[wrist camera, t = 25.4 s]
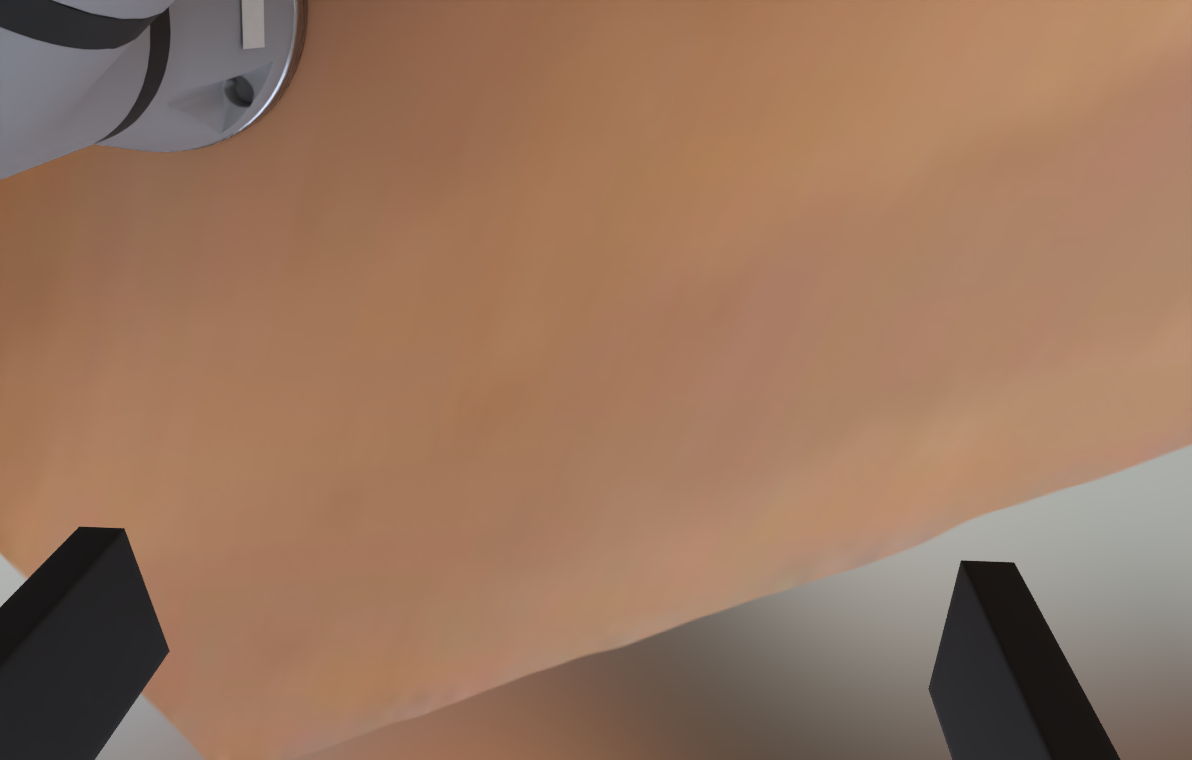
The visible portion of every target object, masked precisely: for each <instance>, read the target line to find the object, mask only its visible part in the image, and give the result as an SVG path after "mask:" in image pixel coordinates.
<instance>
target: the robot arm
mask: <svg viewBox="0 0 1192 760" xmlns="http://www.w3.org/2000/svg"><path fill="white" fill-rule="evenodd" d="M306 26H307V0H0V180H2V179H4V178H7V177H9V176H12V175H15V174H17V173H20V172H22V171H25V170H28V169H30V168H33V167H35V166H38V165H41V164H43V163H46V162H48V161H51V160H54V159H56V158H59V157H61V156H64V155H67V154H69V153H72V152H75V151H77V150H80V149H82V148H85V147H87V146H90V145H93V144H94V145H102V146H109V147H117V148H124V149H132V150H140V151H148V152H175V151H186V150H192V149H198V148H202V147H206V146H209V145H213V144H215V143H218V142H220V141H223V140H225V139H227V138H229V137H231V136H233V135H236V134H238V133H240V132H241V131H243V130H245V129H247V128H249V127H250V126H252V125H253V124H254V123H256V122H257V121H258V120H260V119H261V118H262V117H263V116H264V115H265V114H267V113H268V112H269V111H270V110H271V109H272V108H273V106H274V105H275V104H276V103H277V102H278V100H279V99H280V98H281V96H282V95H283V93H284V92H285V90H286V89H287V87H288V85H289V83H290V81H291V79H292V77H293V75H294V73H295V71H296V68H297V65H298V63H299V60H300V57H301V53H302V49H303V45H304V40H305V33H306ZM168 653H169V648H168V646H167V643H166V640H165V638H164V635H163V632H162V629H161V627H160V624H159V621H158V619H157V616H156V613H155V610H154V608H153V605H152V602H151V600H150V597H149V594H148V591H147V589H146V586H145V583H144V581H143V578H142V575H141V573H140V570H139V567H138V564H137V562H136V559H135V556H134V554H133V551H132V548H131V545H130V543H129V540H128V537H127V535H126V532H125V529H124V528H98V527H79V528H78V529H77V530H76V531H75V532H74V533H73V534H72V535H71V536H70V537H69V538H68V539H67V540H66V541H65V542H64V543H63V544H62V545H61V546H60V547H59V548H58V549H57V550H56V551H55V552H54V553H53V554H52V555H51V556H50V557H49V558H48V559H47V560H46V561H45V562H44V563H43V564H42V565H41V566H40V567H39V568H38V569H37V570H36V571H35V572H34V573H33V574H32V575H31V577H30V578H29V579H28V580H27V581H26V582H25V583H24V584H23V585H22V586H21V587H20V588H19V589H18V590H17V591H16V592H15V593H14V594H13V595H12V596H11V597H10V598H9V599H8V600H7V601H6V602H5V603H4V604H3V605H2V606H1V607H0V760H95V758H96V757H97V756H98V754H99V753H100V751H101V750H102V748H103V747H104V745H105V744H106V742H107V741H108V739H109V738H110V737H111V735H112V734H113V732H114V731H115V729H116V728H117V727H118V725H119V724H120V722H121V721H122V719H123V718H124V716H125V715H126V713H127V712H128V711H129V709H130V707H131V706H132V705H133V703H134V702H135V700H136V699H137V698H138V696H139V695H140V693H141V692H142V690H143V689H144V687H145V686H146V684H147V683H148V682H149V680H150V679H151V677H152V676H153V674H154V673H155V671H156V670H157V668H158V667H159V666H160V664H161V663H162V661H163V660H164V658H165V657H166V655H167V654H168ZM929 692H930V695H931V698H932V701H933V704H934V706H935V709H936V712H937V715H938V718H939V721H940V724H941V727H942V730H943V733H944V736H945V739H946V742H947V745H948V748H949V751H950V754H951V757H952V760H1120V758H1119V757H1118V755H1117V752H1116V750H1115V749H1114V747H1113V745H1112V744H1111V741H1110V739H1109V737H1108V736H1107V734H1106V732H1105V730H1104V728H1103V726H1102V724H1101V723H1100V721H1099V719H1098V717H1097V715H1096V713H1095V711H1094V710H1093V708H1092V706H1091V704H1090V702H1089V700H1088V699H1087V697H1086V695H1085V693H1084V691H1083V689H1082V687H1081V686H1080V684H1079V682H1078V680H1077V678H1076V676H1075V674H1074V673H1073V671H1072V669H1071V667H1070V665H1069V663H1068V662H1067V660H1066V658H1065V656H1064V654H1063V652H1062V650H1061V648H1060V647H1059V645H1058V643H1057V641H1056V639H1055V637H1054V635H1053V634H1052V632H1051V630H1050V628H1049V626H1048V624H1047V623H1046V621H1045V619H1044V617H1043V615H1042V613H1041V611H1040V610H1039V608H1038V606H1037V604H1036V602H1035V601H1034V598H1033V597H1032V595H1031V593H1030V591H1029V589H1028V588H1027V586H1026V584H1025V582H1024V580H1023V578H1022V576H1021V575H1020V572H1019V571H1018V569H1017V567H1016V565H1015V563H1012V562H986V561H961V563H960V567H959V571H958V575H957V579H956V583H955V587H954V591H953V595H952V599H951V603H950V607H949V610H948V614H947V618H946V622H945V626H944V630H943V634H942V638H941V642H940V646H939V650H938V654H937V658H936V662H935V666H934V670H933V674H932V678H931V681H930V685H929Z"/></svg>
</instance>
